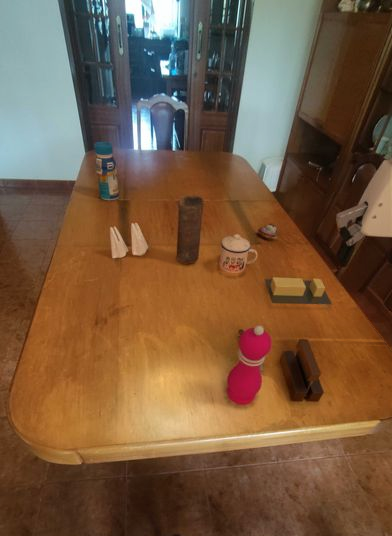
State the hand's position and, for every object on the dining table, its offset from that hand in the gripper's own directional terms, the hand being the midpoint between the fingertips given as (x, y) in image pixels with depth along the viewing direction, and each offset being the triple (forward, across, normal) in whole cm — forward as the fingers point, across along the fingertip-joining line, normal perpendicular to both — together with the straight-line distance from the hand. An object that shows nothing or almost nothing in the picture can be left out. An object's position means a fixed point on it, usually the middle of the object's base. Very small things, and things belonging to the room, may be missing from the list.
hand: (367, 264), depth 56 cm
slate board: (+28, -3, -29) cm, 41 cm away
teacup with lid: (+28, +14, -42) cm, 53 cm away
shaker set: (+28, +49, -48) cm, 74 cm away
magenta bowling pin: (+28, +15, -5) cm, 33 cm away
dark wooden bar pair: (+28, +5, +4) cm, 29 cm away
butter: (+27, 0, -29) cm, 40 cm away
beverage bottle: (+28, +63, -95) cm, 118 cm away
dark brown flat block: (+28, +5, +4) cm, 29 cm away
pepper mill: (+28, +19, +8) cm, 35 cm away
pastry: (+28, -1, -66) cm, 72 cm away
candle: (+28, +30, -46) cm, 62 cm away
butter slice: (+27, -9, -29) cm, 41 cm away
